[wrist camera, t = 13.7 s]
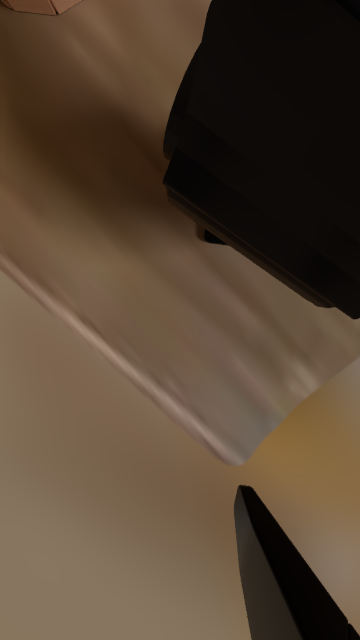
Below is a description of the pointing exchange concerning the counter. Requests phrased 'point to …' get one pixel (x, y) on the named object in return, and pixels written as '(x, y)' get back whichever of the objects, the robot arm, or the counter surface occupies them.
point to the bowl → (41, 5)
